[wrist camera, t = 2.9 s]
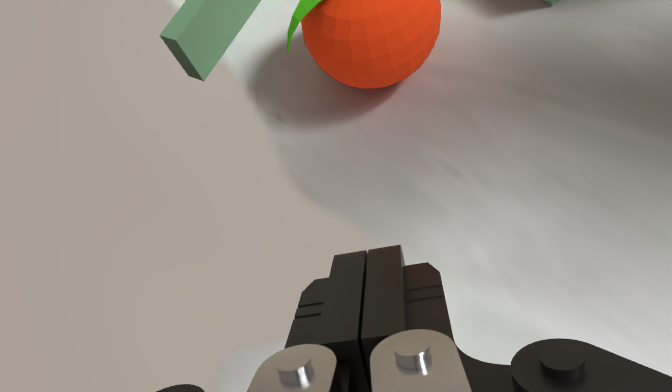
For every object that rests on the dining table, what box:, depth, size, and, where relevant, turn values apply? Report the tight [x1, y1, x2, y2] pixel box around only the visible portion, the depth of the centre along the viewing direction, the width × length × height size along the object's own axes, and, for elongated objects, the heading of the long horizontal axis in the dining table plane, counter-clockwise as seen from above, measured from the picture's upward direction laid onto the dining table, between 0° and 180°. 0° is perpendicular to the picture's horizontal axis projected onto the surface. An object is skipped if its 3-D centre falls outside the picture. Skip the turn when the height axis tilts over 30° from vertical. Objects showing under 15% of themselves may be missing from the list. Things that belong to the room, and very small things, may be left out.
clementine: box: [287, 0, 441, 89], centre depth 26 cm, size 8×7×7 cm
